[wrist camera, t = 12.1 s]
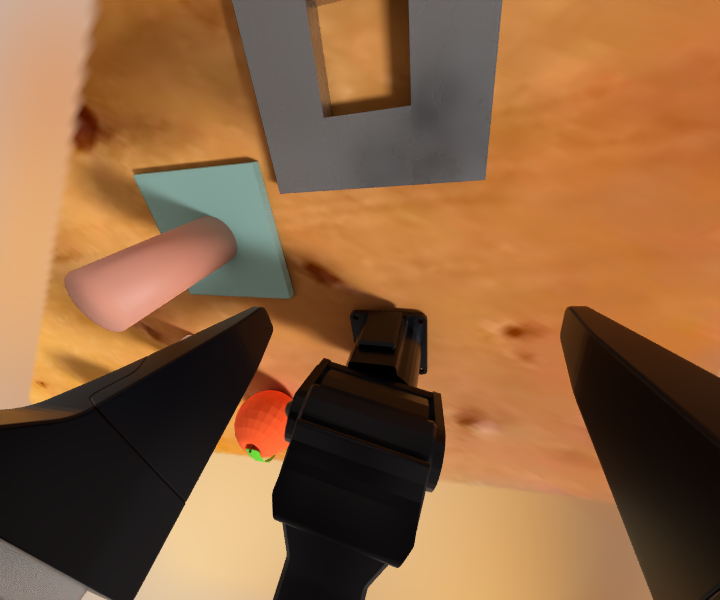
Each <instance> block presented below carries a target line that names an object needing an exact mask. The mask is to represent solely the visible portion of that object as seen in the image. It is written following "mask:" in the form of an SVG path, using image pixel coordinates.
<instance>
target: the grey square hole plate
mask: <svg viewBox="0 0 720 600" xmlns="http://www.w3.org/2000/svg"><path fill="white" fill-rule="evenodd" d="M336 1H340V0H232V3H233V7H234V11H235V15H236V19H237V23H238V27H239V31H240V35H241V39H242V43H243V47H244V51H245V55H246V59H247V63H248V67H249V71H250V75H251V79H252V83H253V87H254V91H255V95H256V99H257V103H258V107H259V111H260V115H261V119H262V123H263V127H264V131H265V135H266V139H267V143H268V147H269V151H270V155H271V159H272V163H273V167H274V171H275V175H276V179H277V183H278V187H279V191H280V194H284V193H299V192H314V191H329V190H343V189H358V188H373V187H388V186H402V185H417V184H432V183H447V182H462V181H476V180H485V176H486V165H487V155H488V144H489V134H490V124H491V113H492V103H493V92H494V82H495V72H496V61H497V51H498V40H499V30H500V20H501V9H502V0H409V38H410V80H411V105H410V106H403V107H396V108H389V109H382V110H375V111H368V112H361V113H354V114H347V115H340V116H333V117H332V111H331V104H330V97H329V90H328V83H327V76H326V69H325V62H324V55H323V48H322V41H321V34H320V27H319V20H318V13H317V6H320V5H324V4H328V3H332V2H336Z"/></svg>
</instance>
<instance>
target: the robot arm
mask: <svg viewBox="0 0 720 600" xmlns="http://www.w3.org/2000/svg"><path fill="white" fill-rule="evenodd" d="M355 315H357V316H358V317H356V316H355ZM350 319H351V325H352V331H353V337H354V343H355V344H354V347H353V349H352V352H351V354H350V356H349V359H348V361H347V363H346V366H344V365H340V364H337V363H334V362H331V360H329V359H326V358H323V360H322V361H321V362H320V364H319V365H317V366H316V367H315V368H314V370H313V371H312V372H311V374H310V375H309V376H308V377H307V379H306V380H305V381H304V383H303V384H302V385H301V387H300V388H299V389H298V390H297V392H296V393H295V395H294V398H293V399H292V400H290V401H289V402H288V403H287V405H286V408H285V413H286V416H287V423H286V427H285V434H284V438H285V441H286V442H289V446H288V449H287V452H286V455H285V458H284V461H283V464H282V468H281V471H280V474H279V477H278V479H277V482H276V484H275V487H274V489H273V493H272V503H273V504H272V507H273V518H274V519H275V520H277V521H279V522H282V523H283V530H284V537H285V544H286V551H287V557H286V560H285V563H284V567H283V570H282V573H281V577H280V579H279V582H278V586H277V589H276V592H275V595H274V598H273V600H365V596H366V593H367V589H368V587H369V586H370V584H372V582H373V581H374V580H375V579H376V578H377V577H378V576H379V575H380V574H381V573H382V571H383V570H384V569H385V568H386V567H387V566H388V565H391V566H393V567H396V568H399V567H400V566H401V565H402V563H403V562H404V561H405V559H406V558H407V556H408V555H409V553H410V552H411V550H412V549H413V547H414V543H415V536H416V531H417V527H418V522H419V517H420V513H421V508H422V505H423V500H424V496H425V491H427V492H432V491H433V490H434V488H435V487H436V485H437V482H438V479H439V476H440V472H441V468H442V464H443V458H444V451H445V425H444V417H443V408H442V400H441V394H440V393H437V392H434V391H433V392H429V391H425V390H422V389H419V388H417V383H418V375H419V374H426V373H427V316H426V315H424V314H421V313H403V312H394V311H375V310H372V311H365V310H354V311H352V313H351V315H350ZM418 319H423V321H419V320H418ZM272 333H273V326H272V323H271V321H270V318H269V316H268V313H267V311H266V309H265V308H263V307H252V308H250V309H247V310H245V311H243V312H241V313H239V314H237V315H235V316H232V317H230V318H228V319H226V320H224V321H222V322H219V323H217V324H215V325H213V326H211V327H209V328H207V329H204V330H202V331H200V332H198V333H196V334H194V335H192V336H189V337H187V338H185V339H183V340H181V341H179V342H176V343H174V344H172V345H170V346H168V347H166V348H164V349H161V350H159V351H157V352H155V353H153V354H151V355H149V356H146V357H144V358H142V359H140V360H138V361H136V362H133V363H131V364H129V365H127V366H125V367H122V368H120V369H118V370H116V371H113V372H111V373H109V374H106V375H104V376H102V377H100V378H97V379H95V380H93V381H90V382H88V383H85V384H83V385H81V386H78V387H76V388H74V389H71V390H69V391H66V392H64V393H62V394H59V395H57V396H55V397H52V398H50V399H48V400H45V401H42V402H40V403H36V404H33V405H30V406H26V407H21V408H15V409H5V410H0V600H81V599H82V597H83V596H84V594H85V593H86V592H87V591H89V592H91V593H94V594H96V595H98V596H100V597H103V598H105V599H107V600H134V598H135V596H136V595H137V593H138V591H139V589H140V587H141V586H142V584H143V582H144V580H145V578H146V576H147V574H148V572H149V571H150V569H151V567H152V565H153V563H154V561H155V559H156V557H157V556H158V554H159V552H160V550H161V548H162V546H163V545H164V543H165V541H166V539H167V537H168V535H169V533H170V531H171V530H172V528H173V526H174V524H175V522H176V520H177V518H178V517H179V515H180V513H181V511H182V509H183V507H184V505H185V502H186V501H187V499H188V497H189V496H190V494H191V492H192V490H193V488H194V486H195V484H196V482H197V481H198V479H199V477H200V475H201V473H202V471H203V469H204V467H205V466H206V464H207V462H208V460H209V458H210V456H211V455H212V453H213V451H214V449H215V447H216V445H217V443H218V442H219V440H220V438H221V436H222V434H223V432H224V430H225V429H226V427H227V425H228V423H229V421H230V419H231V417H232V416H233V414H234V412H235V410H236V408H237V406H238V404H239V403H240V401H241V399H242V397H243V395H244V393H245V391H246V390H247V388H248V386H249V384H250V382H251V380H252V378H253V376H254V375H255V373H256V371H257V369H258V366H259V364H260V362H261V359H262V357H263V355H264V352H265V350H266V347H267V345H268V343H269V340H270V338H271V335H272ZM560 338H561V344H562V348H563V352H564V357H565V361H566V365H567V369H568V373H569V377H570V382H571V386H572V389H573V393H574V396H575V399H576V402H577V404H578V407H579V409H580V412H581V415H582V417H583V420H584V422H585V425H586V427H587V430H588V433H589V435H590V438H591V440H592V443H593V445H594V448H595V451H596V453H597V456H598V458H599V461H600V464H601V466H602V469H603V471H604V474H605V476H606V479H607V482H608V484H609V487H610V489H611V492H612V494H613V497H614V500H615V502H616V505H617V507H618V510H619V512H620V515H621V518H622V520H623V523H624V525H625V528H626V531H627V533H628V536H629V538H630V541H631V543H632V546H633V549H634V551H635V554H636V556H637V559H638V561H639V564H640V567H641V569H642V572H643V574H644V577H645V579H646V582H647V585H648V587H649V589H650V592H651V595H652V597H653V600H720V378H719V377H717V376H716V375H714V374H712V373H710V372H708V371H706V370H704V369H703V368H701V367H699V366H697V365H695V364H693V363H691V362H690V361H688V360H686V359H684V358H682V357H680V356H678V355H677V354H675V353H673V352H671V351H669V350H667V349H665V348H663V347H662V346H660V345H658V344H656V343H654V342H652V341H650V340H649V339H647V338H645V337H643V336H641V335H639V334H637V333H636V332H634V331H632V330H630V329H628V328H626V327H624V326H623V325H621V324H619V323H617V322H615V321H613V320H611V319H610V318H608V317H606V316H604V315H602V314H600V313H598V312H596V311H595V310H593V309H591V308H589V307H586V306H569V307H567V308H566V310H565V313H564V318H563V323H562V328H561V333H560ZM420 368H422V369H420Z"/></svg>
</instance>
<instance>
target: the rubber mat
mask: <svg viewBox="0 0 720 600" xmlns="http://www.w3.org/2000/svg"><path fill="white" fill-rule="evenodd" d="M133 177H134V179H135V181H136V183H137V185H138V187H139V189H140V191H141V193H142V195H143V197H144V199H145V201H146V203H147V206H148V208H149V210H150V212H151V214H152V216H153V218H154V220H155V222H156V224H157V226H158V228H159V230H160V232H161V234H162V233H164V232H167V231H169V230H172V229H174V228H176V227H179V226H181V225H184V224H186V223H188V222H191V221H193V220H196V219H198V218H200V217H203V216H212V217H215V218H218V219H219V220H221V221H222V222H224V223H225V224H226V225H227V226H228V227H229V228H230V230H231V231H232V233H233V235H234V237H235V239H236V242H237V253H236V255H235V257H234V258H233V259H232V260H230V261H229V262H227V263H226V264H224V265H223V266H221V267H220V268H218V269H217V270H215V271H214V272H212V273H211V274H209V275H208V276H206V277H205V278H203V279H202V280H200V281H199V282H197V283H196V284H194V285H193V286H191V287H190V288H188V290H189V292H190V294H196V295H218V296H240V297H262V298H285V299H290V298H291V297H292V296H293V295H294V291H293V288H292V284H291V280H290V277H289V273H288V269H287V266H286V262H285V258H284V255H283V251H282V247H281V244H280V240H279V236H278V233H277V229H276V225H275V222H274V218H273V214H272V211H271V207H270V203H269V200H268V196H267V192H266V189H265V185H264V181H263V177H262V174H261V170H260V166H259V163H258V161H254V162H245V163H235V164H226V165H216V166H207V167H197V168H188V169H178V170H169V171H159V172H150V173H141V174H137V175H133Z"/></svg>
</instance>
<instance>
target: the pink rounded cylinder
mask: <svg viewBox="0 0 720 600" xmlns="http://www.w3.org/2000/svg"><path fill="white" fill-rule="evenodd" d="M236 253H237V242H236V239H235V237H234V235H233V233H232V231H231V230H230V228H229V227H228V226H227V225H226V224H225V223H224V222H222V221H221V220H219V219H218V218H215V217H212V216H203V217H200V218H198V219H196V220H193V221H191V222H188V223H186V224H184V225H181V226H179V227H176V228H174V229H172V230H169V231H167V232H164V233H162V234H160V235H157V236H155V237H152V238H150V239H148V240H145V241H143V242H140V243H138V244H136V245H133V246H131V247H128V248H126V249H124V250H121V251H119V252H117V253H114V254H112V255H109V256H107V257H105V258H102V259H100V260H97V261H95V262H93V263H90V264H88V265H85V266H83V267H81V268H78V269H76V270H73V271H71V272H69V273H68V274H67V275H66V277H65V286H66V289H67V292H68V294H69V296H70V298H71V299H72V301H73V302H74V303H75V305H76V306H77V307H78V308H79V309H80V310H81V311H82V313H84V314H85V315H86V316H87V317H88V318H89V319H90V320H92V321H93V322H95V323H96V324H98V325H99V326H101V327H103V328H105V329H108V330H111V331H115V332H121V331H124V330H126V329H127V328H129V327H130V326H132V325H134V324H135V323H137V322H138V321H140V320H141V319H143V318H144V317H146V316H147V315H149V314H150V313H152V312H153V311H155V310H156V309H158V308H159V307H161V306H162V305H164V304H165V303H167V302H168V301H170V300H171V299H173V298H174V297H176V296H177V295H179V294H180V293H182V292H183V291H185V290H187V289H188V288H190V287H191V286H193V285H194V284H196V283H197V282H199V281H200V280H202V279H203V278H205V277H206V276H208V275H209V274H211V273H212V272H214V271H215V270H217V269H218V268H220V267H221V266H223V265H224V264H226V263H227V262H229V261H230V260H232V259H233V258H234V257H235V255H236Z"/></svg>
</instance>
